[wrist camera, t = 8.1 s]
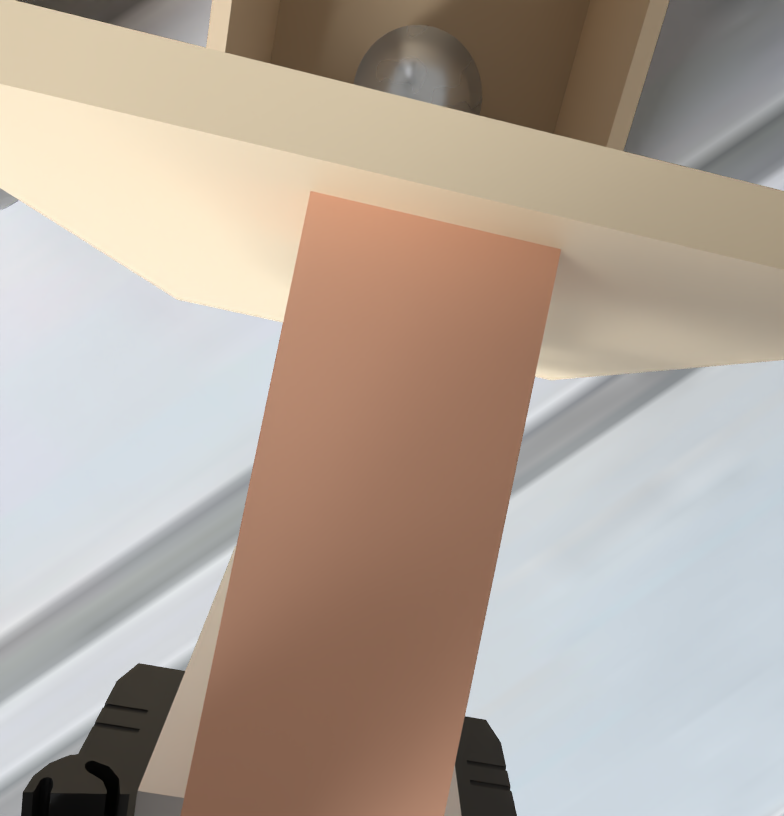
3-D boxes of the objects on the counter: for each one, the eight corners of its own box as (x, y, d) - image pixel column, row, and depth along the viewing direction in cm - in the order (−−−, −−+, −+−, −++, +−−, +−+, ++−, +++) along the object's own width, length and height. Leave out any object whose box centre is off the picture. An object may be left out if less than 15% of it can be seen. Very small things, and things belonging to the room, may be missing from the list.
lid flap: (-247, -65, 6) (-447, 879, 6) (1075, 263, 7) (913, 1061, 7) (181, 276, 24) (129, 525, 24) (555, 358, 25) (506, 595, 25)
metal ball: (374, 27, 29) (373, 5, 25) (484, 65, 29) (500, 49, 26) (342, 148, 30) (337, 144, 27) (448, 182, 31) (458, 183, 27)
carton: (298, -201, 27) (260, -381, 18) (631, -106, 28) (742, -235, 20) (230, 251, 32) (177, 275, 24) (513, 315, 33) (559, 358, 25)
